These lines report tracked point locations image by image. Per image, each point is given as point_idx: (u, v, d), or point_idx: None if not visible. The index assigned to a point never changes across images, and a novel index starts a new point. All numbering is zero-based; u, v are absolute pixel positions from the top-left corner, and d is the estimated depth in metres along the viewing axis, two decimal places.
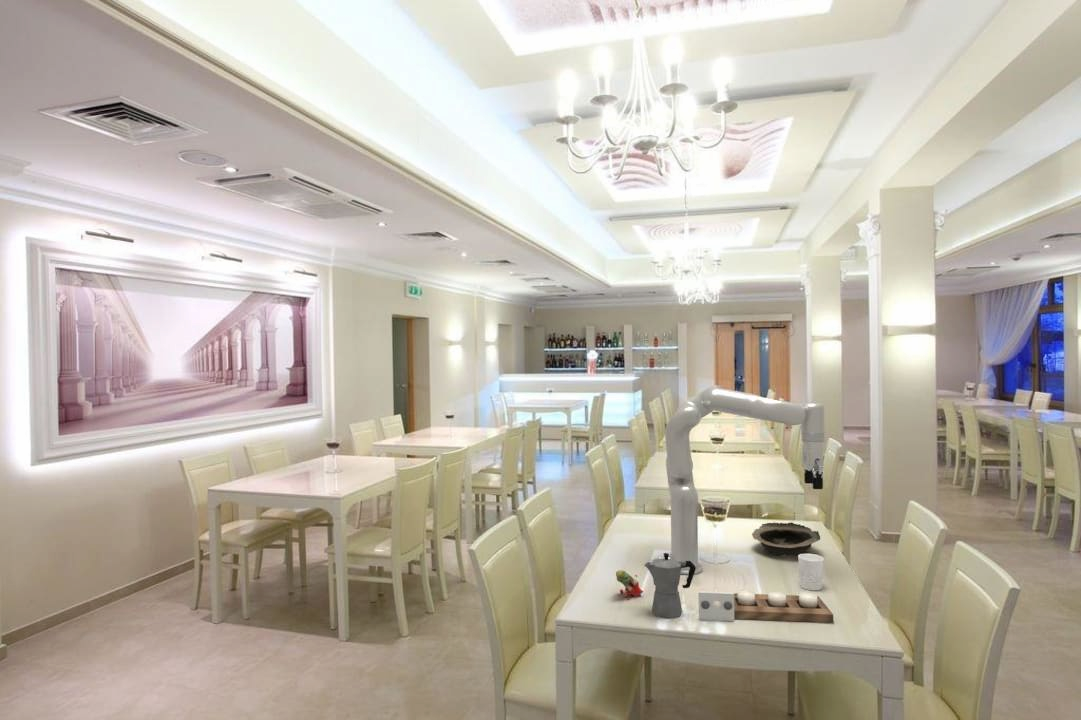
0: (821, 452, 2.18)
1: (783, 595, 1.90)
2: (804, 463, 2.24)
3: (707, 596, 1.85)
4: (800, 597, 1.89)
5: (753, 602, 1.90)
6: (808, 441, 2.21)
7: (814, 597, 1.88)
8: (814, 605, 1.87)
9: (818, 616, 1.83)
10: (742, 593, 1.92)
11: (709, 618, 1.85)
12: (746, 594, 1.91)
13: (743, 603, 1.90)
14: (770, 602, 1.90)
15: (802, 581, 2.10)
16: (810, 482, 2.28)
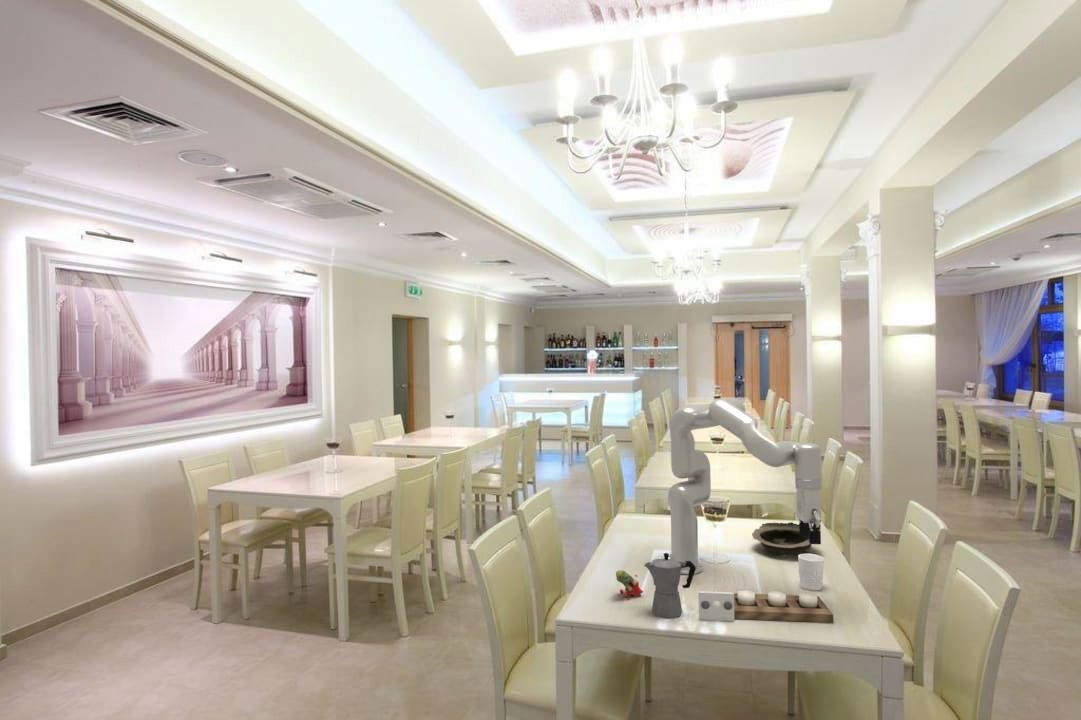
0: (818, 501, 1.90)
1: (783, 595, 1.90)
2: (799, 513, 1.95)
3: (707, 596, 1.85)
4: (800, 597, 1.89)
5: (753, 602, 1.90)
6: (803, 488, 1.92)
7: (814, 597, 1.88)
8: (814, 605, 1.87)
9: (818, 616, 1.83)
10: (742, 593, 1.92)
11: (709, 618, 1.85)
12: (746, 594, 1.91)
13: (743, 603, 1.90)
14: (770, 602, 1.90)
15: (802, 581, 2.10)
16: (806, 534, 1.99)
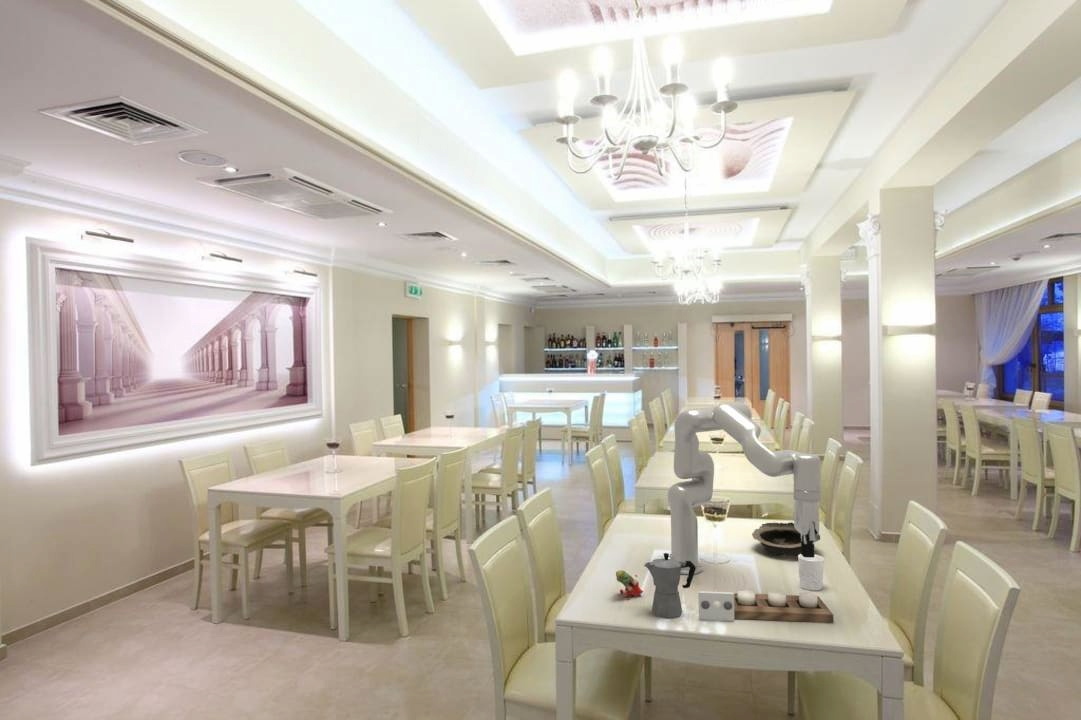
0: (816, 514, 1.85)
1: (783, 595, 1.90)
2: (797, 525, 1.90)
3: (707, 596, 1.85)
4: (800, 597, 1.89)
5: (753, 602, 1.90)
6: (801, 500, 1.87)
7: (814, 597, 1.88)
8: (814, 605, 1.87)
9: (818, 616, 1.83)
10: (742, 593, 1.92)
11: (709, 618, 1.85)
12: (746, 594, 1.91)
13: (743, 603, 1.90)
14: (770, 602, 1.90)
15: (802, 581, 2.10)
16: None
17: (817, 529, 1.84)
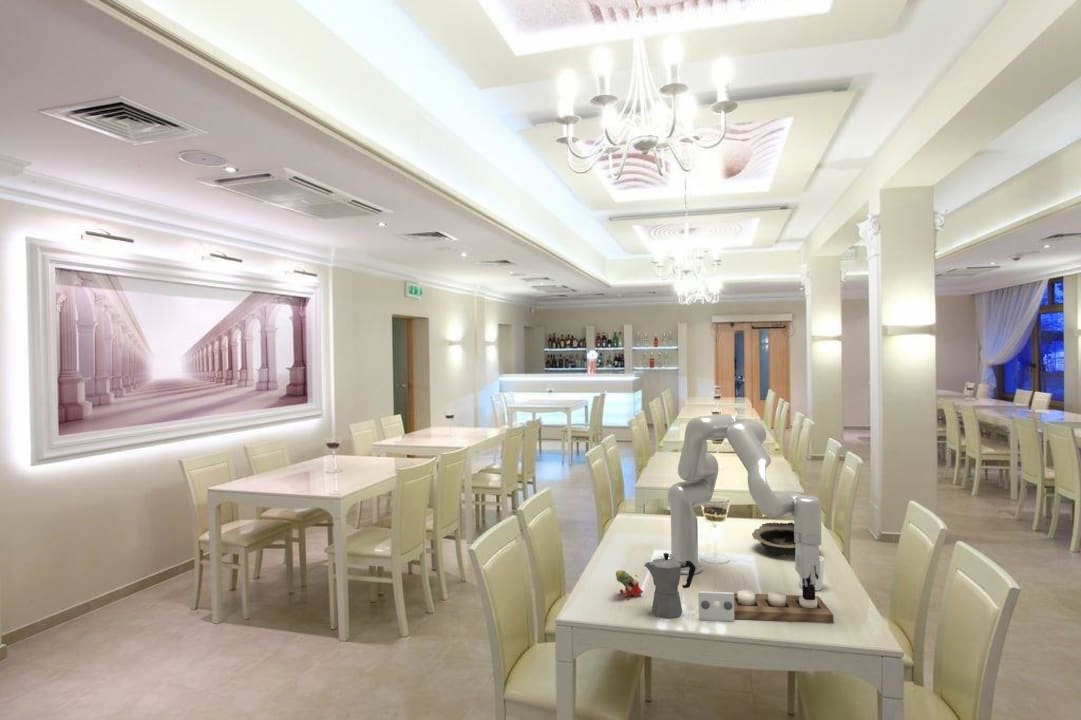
0: (817, 557, 1.85)
1: (783, 595, 1.90)
2: (798, 567, 1.90)
3: (707, 596, 1.85)
4: (800, 600, 1.89)
5: (753, 602, 1.90)
6: (802, 543, 1.87)
7: (814, 600, 1.88)
8: (814, 608, 1.87)
9: (818, 616, 1.83)
10: (742, 593, 1.92)
11: (709, 618, 1.85)
12: (746, 594, 1.91)
13: (743, 603, 1.90)
14: (770, 602, 1.90)
15: None
16: None
17: (818, 573, 1.84)
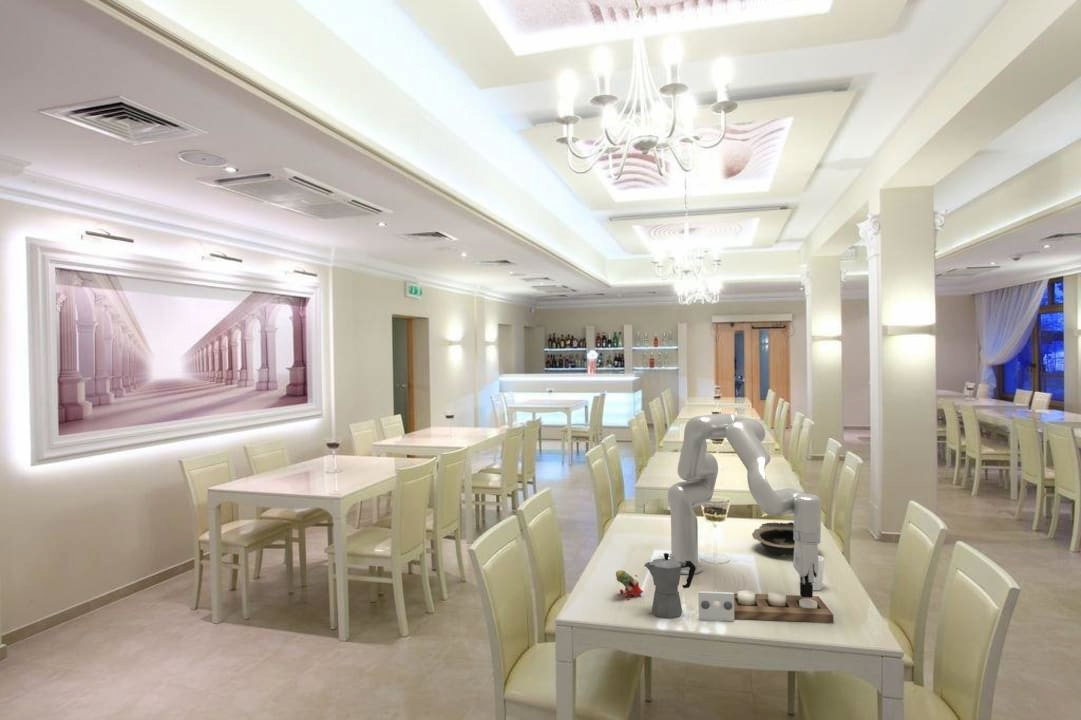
0: (816, 556, 1.85)
1: (783, 595, 1.90)
2: (796, 565, 1.91)
3: (707, 596, 1.85)
4: (800, 603, 1.89)
5: (753, 602, 1.90)
6: (801, 541, 1.87)
7: (814, 603, 1.88)
8: None
9: (818, 616, 1.83)
10: (742, 593, 1.92)
11: (709, 618, 1.85)
12: (746, 594, 1.91)
13: (743, 603, 1.90)
14: (770, 602, 1.90)
15: None
16: None
17: (816, 571, 1.85)
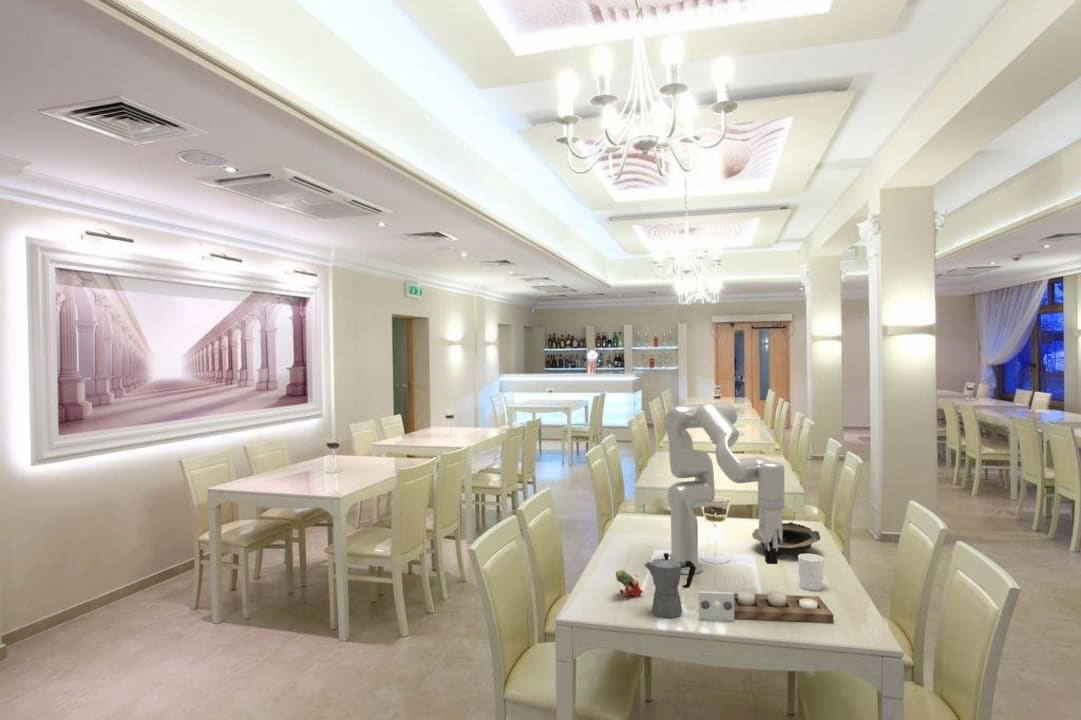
0: (780, 521, 1.86)
1: (783, 595, 1.90)
2: (761, 532, 1.92)
3: (707, 596, 1.85)
4: (800, 603, 1.89)
5: (753, 602, 1.90)
6: (765, 508, 1.88)
7: (814, 603, 1.88)
8: None
9: (818, 616, 1.83)
10: (742, 593, 1.92)
11: (709, 618, 1.85)
12: (746, 594, 1.91)
13: (743, 603, 1.90)
14: (770, 602, 1.90)
15: (802, 581, 2.10)
16: None
17: (780, 537, 1.86)
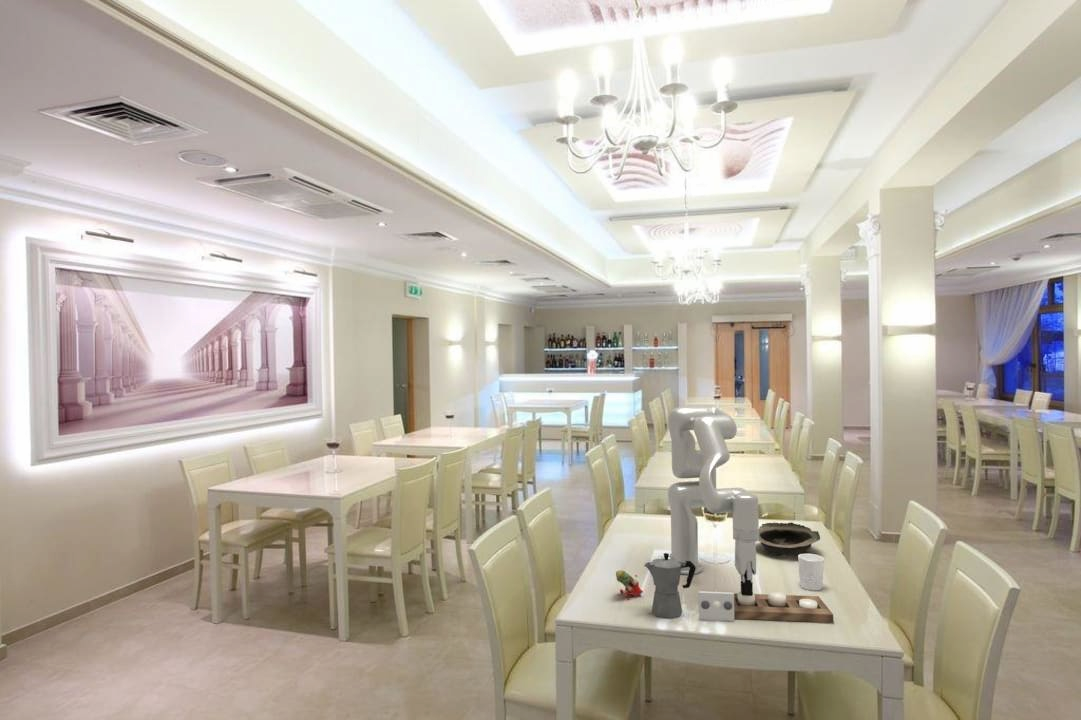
0: (754, 553, 1.87)
1: (783, 595, 1.90)
2: (736, 563, 1.93)
3: (707, 596, 1.85)
4: (800, 603, 1.89)
5: (753, 603, 1.90)
6: (739, 539, 1.89)
7: (814, 603, 1.88)
8: None
9: (818, 616, 1.83)
10: (742, 595, 1.92)
11: (709, 618, 1.85)
12: None
13: (743, 604, 1.90)
14: (770, 602, 1.90)
15: (802, 581, 2.10)
16: None
17: (754, 569, 1.87)
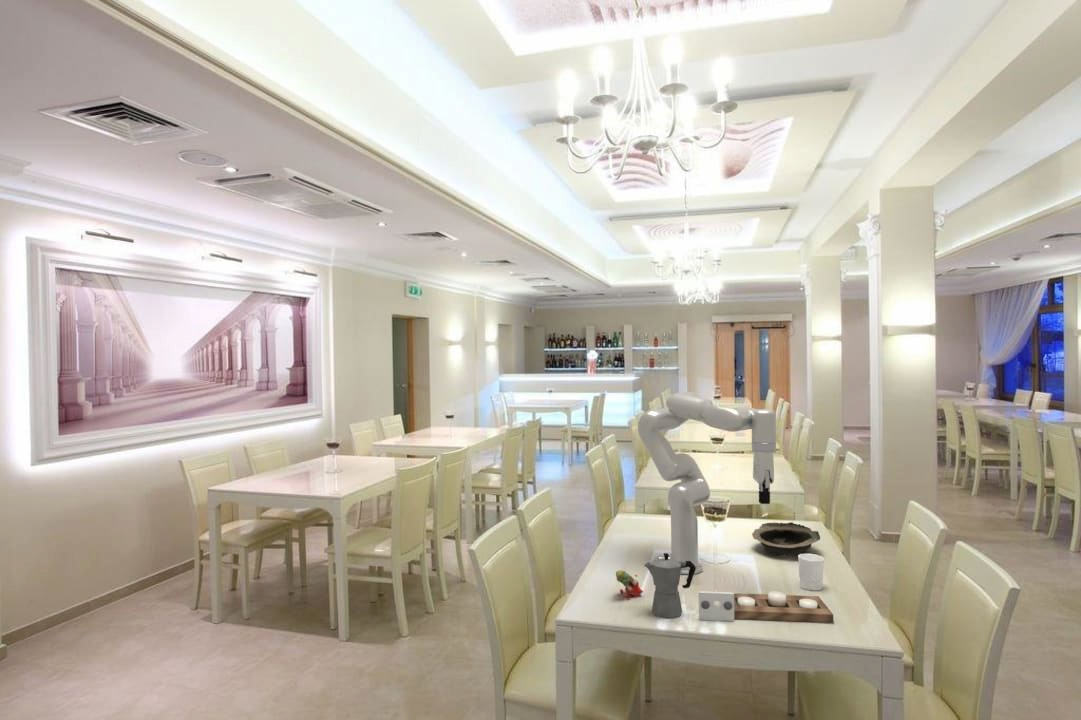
0: (771, 463, 2.02)
1: (783, 595, 1.90)
2: (754, 475, 2.07)
3: (707, 596, 1.85)
4: (800, 603, 1.89)
5: None
6: (758, 451, 2.04)
7: (814, 603, 1.88)
8: None
9: (818, 616, 1.83)
10: (742, 600, 1.92)
11: (709, 618, 1.85)
12: (747, 601, 1.91)
13: None
14: (770, 602, 1.90)
15: (802, 581, 2.10)
16: None
17: (772, 477, 2.01)
